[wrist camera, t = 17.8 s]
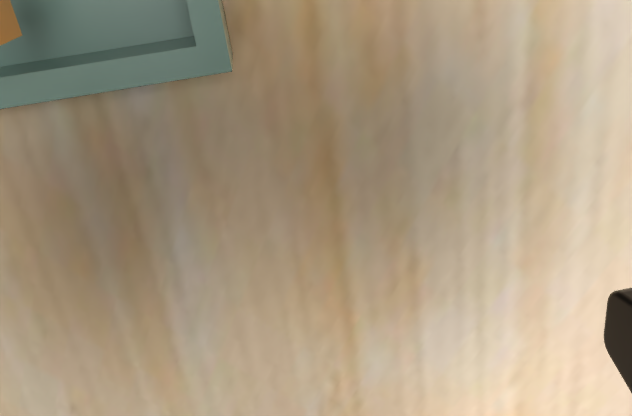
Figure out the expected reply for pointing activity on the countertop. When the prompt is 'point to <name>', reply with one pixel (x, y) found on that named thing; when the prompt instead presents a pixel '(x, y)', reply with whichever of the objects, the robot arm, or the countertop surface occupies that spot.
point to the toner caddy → (8, 23)
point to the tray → (109, 46)
